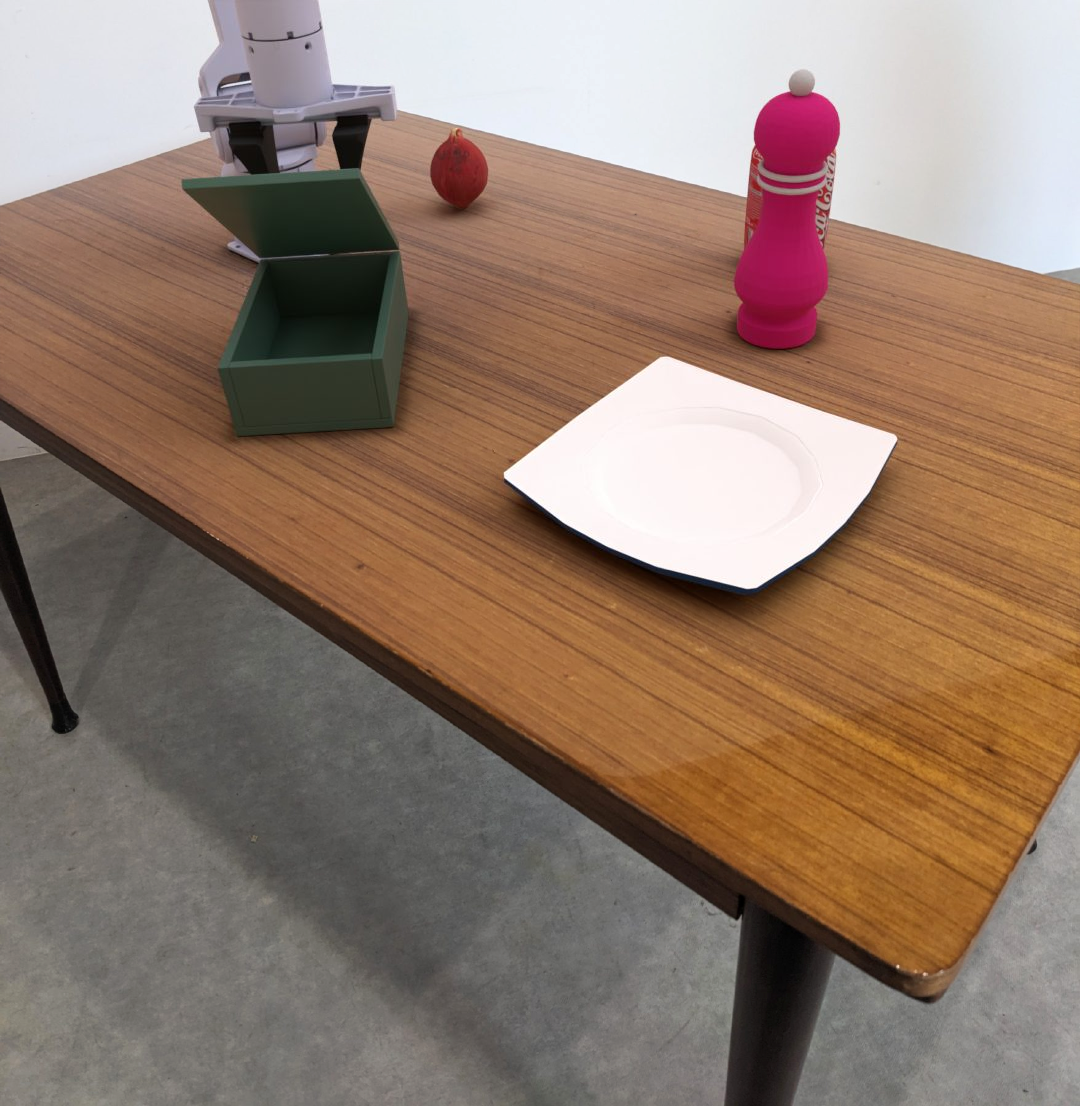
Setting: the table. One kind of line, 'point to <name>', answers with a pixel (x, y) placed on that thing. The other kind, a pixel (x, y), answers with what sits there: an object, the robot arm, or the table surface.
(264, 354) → the chest
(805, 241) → the pepper mill
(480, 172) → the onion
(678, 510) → the plate
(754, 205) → the soda can
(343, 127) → the robot arm
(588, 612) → the table surface
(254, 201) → the lid
